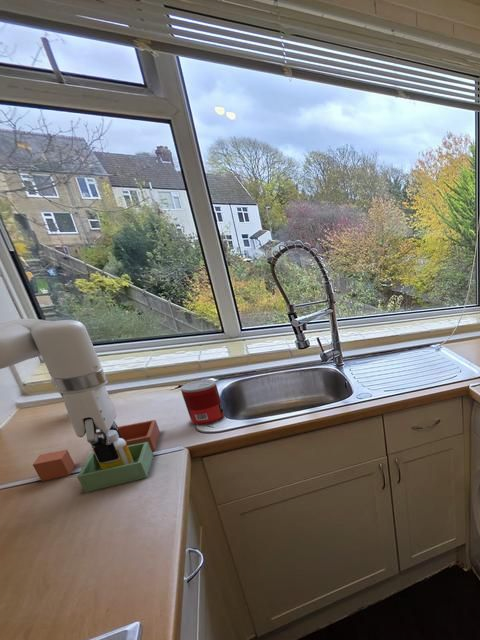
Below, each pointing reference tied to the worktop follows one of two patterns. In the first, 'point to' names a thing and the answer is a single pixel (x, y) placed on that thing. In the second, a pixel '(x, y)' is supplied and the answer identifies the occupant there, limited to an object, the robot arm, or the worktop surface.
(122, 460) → the supplement bottle
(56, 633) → the worktop surface
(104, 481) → the green bin
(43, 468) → the terracotta block
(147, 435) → the terracotta bin
